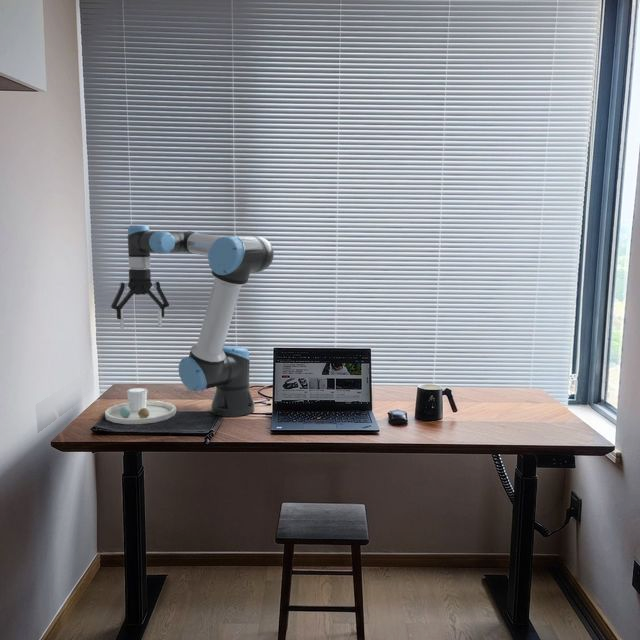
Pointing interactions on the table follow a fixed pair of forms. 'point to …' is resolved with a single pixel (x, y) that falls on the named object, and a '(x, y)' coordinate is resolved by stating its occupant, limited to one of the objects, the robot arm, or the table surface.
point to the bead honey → (143, 413)
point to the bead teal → (125, 412)
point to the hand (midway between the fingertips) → (141, 327)
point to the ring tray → (155, 408)
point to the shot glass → (137, 398)
